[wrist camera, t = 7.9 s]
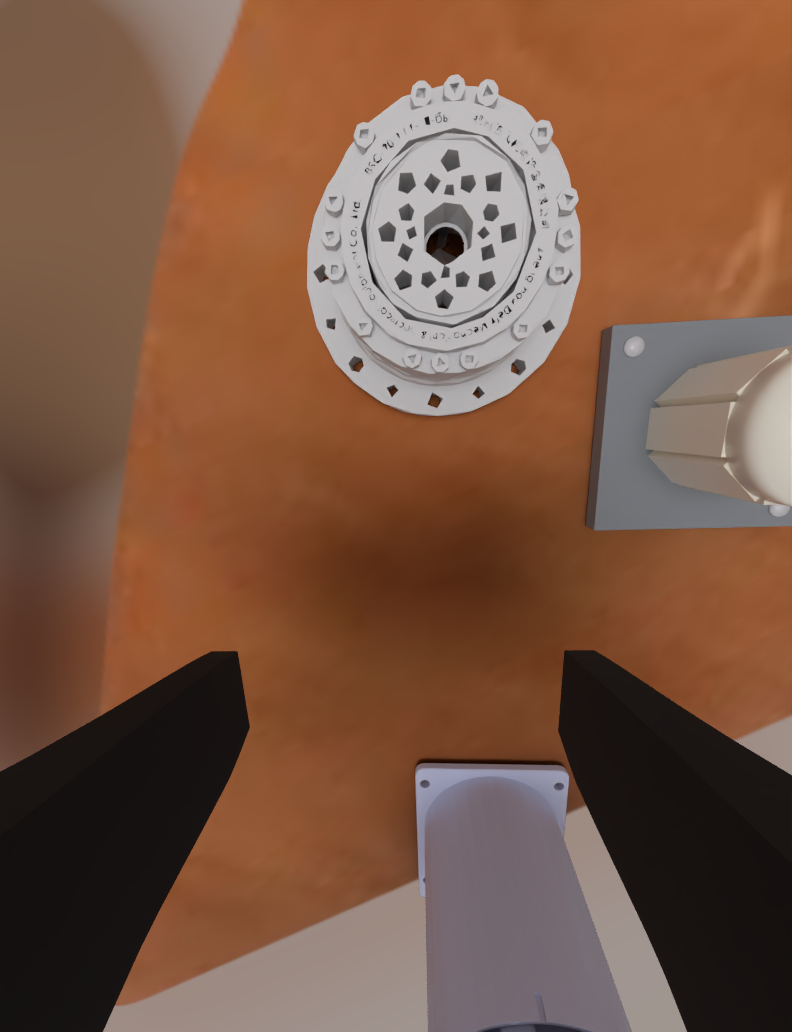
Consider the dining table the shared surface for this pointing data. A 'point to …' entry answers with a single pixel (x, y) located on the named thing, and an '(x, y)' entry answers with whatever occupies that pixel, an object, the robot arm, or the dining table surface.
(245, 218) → the dining table surface
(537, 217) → the mechanical component
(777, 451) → the wire nut
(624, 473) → the plate
